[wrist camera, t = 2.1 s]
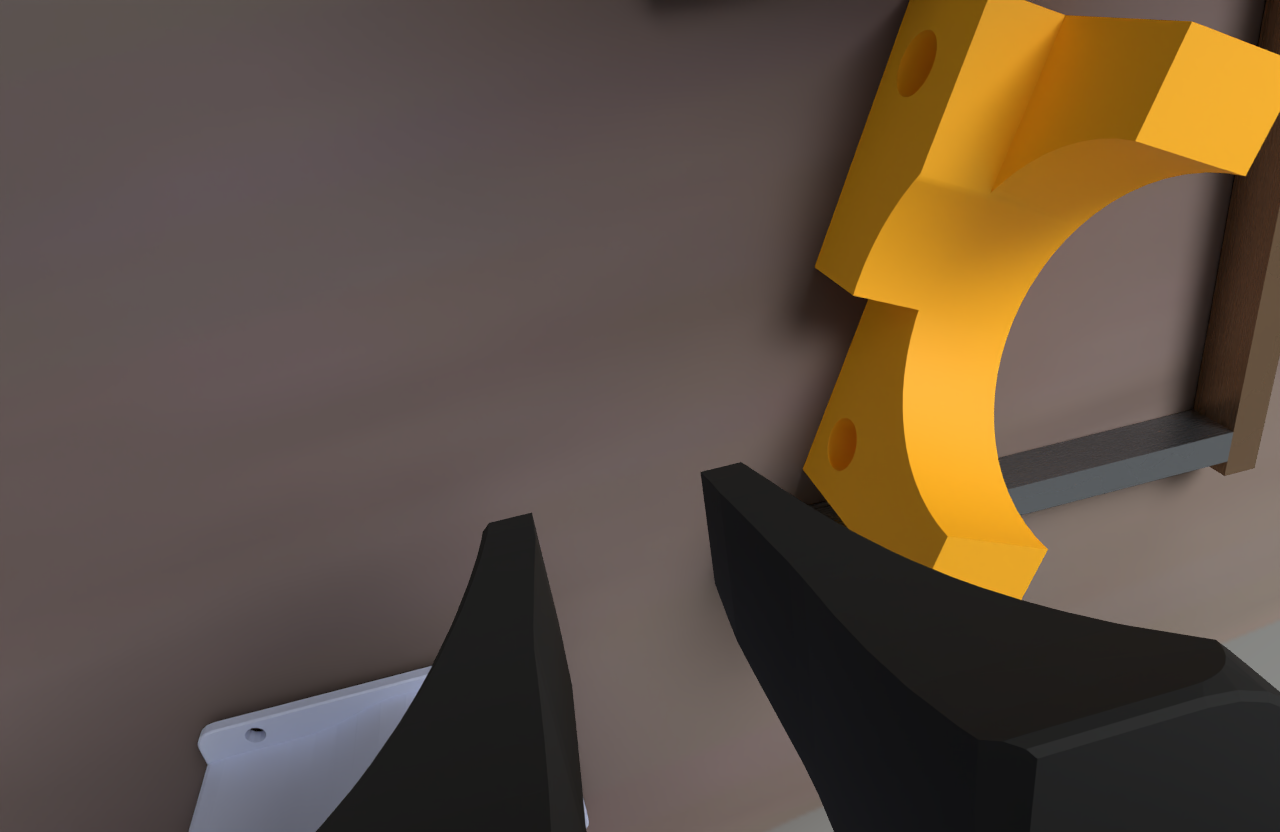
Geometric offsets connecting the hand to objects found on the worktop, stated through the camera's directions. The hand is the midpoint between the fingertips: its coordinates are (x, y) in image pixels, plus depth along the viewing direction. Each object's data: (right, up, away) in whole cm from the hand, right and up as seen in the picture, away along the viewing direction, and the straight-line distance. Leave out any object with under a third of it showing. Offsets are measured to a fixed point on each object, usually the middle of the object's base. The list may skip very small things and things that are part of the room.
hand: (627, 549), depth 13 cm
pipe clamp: (+7, +6, +10) cm, 13 cm away
